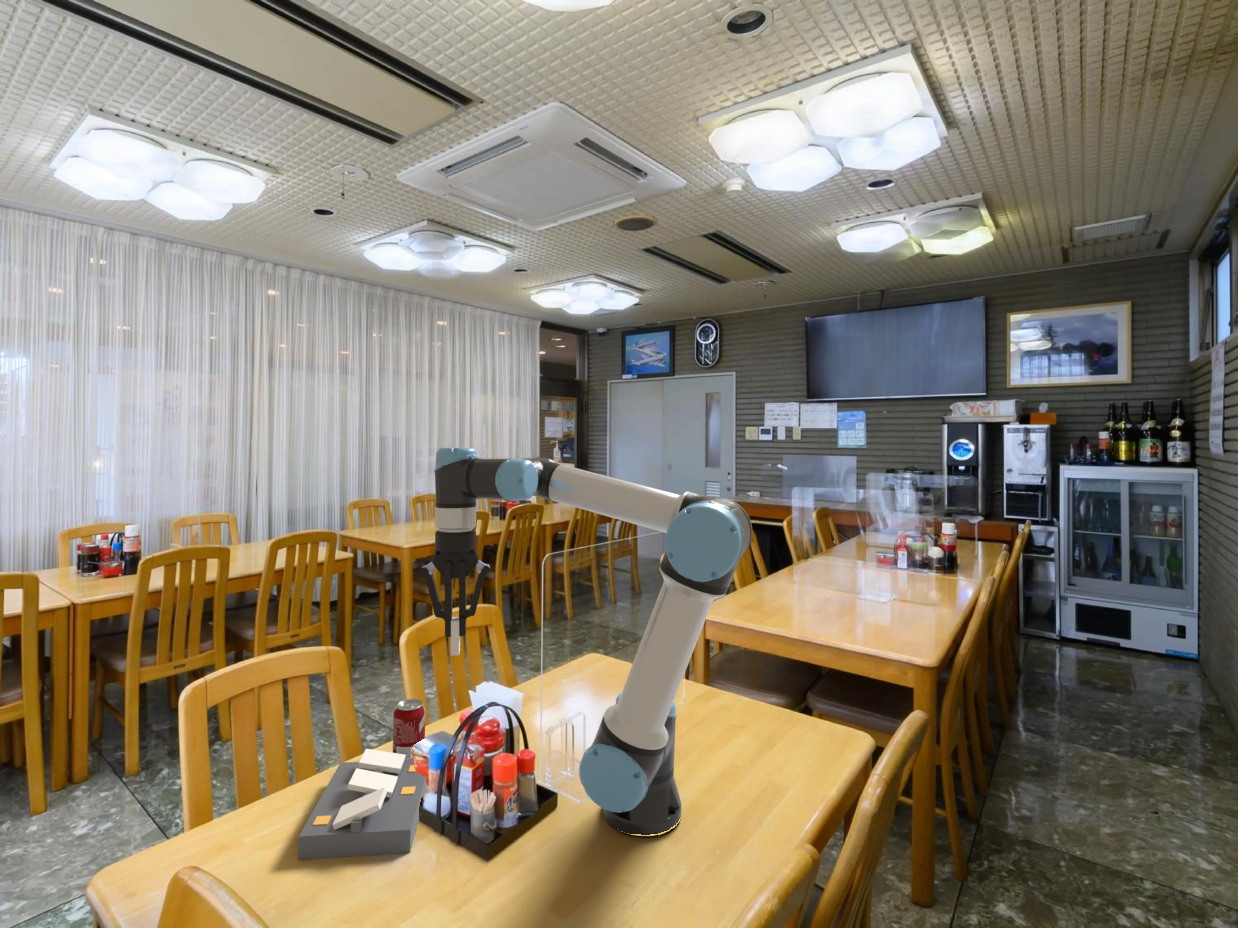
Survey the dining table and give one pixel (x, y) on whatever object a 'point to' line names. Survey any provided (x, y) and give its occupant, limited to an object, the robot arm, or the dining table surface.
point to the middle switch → (372, 782)
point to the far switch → (382, 761)
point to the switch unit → (364, 818)
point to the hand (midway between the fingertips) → (455, 652)
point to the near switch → (359, 808)
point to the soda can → (408, 726)
